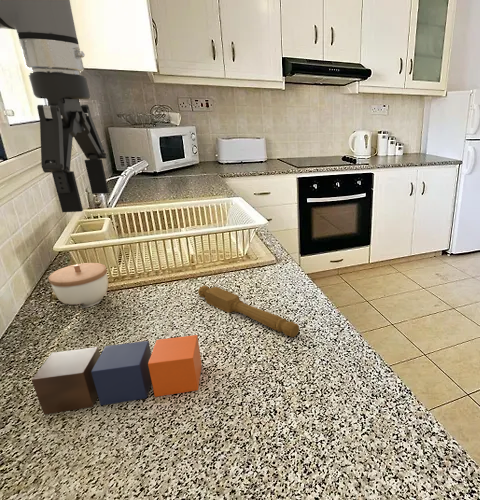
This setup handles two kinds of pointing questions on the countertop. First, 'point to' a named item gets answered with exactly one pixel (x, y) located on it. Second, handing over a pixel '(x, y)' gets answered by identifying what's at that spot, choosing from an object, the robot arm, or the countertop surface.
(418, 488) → the countertop surface
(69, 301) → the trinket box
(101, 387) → the navy block
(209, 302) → the tap handle
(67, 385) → the walnut block
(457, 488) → the countertop surface
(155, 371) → the orange block
